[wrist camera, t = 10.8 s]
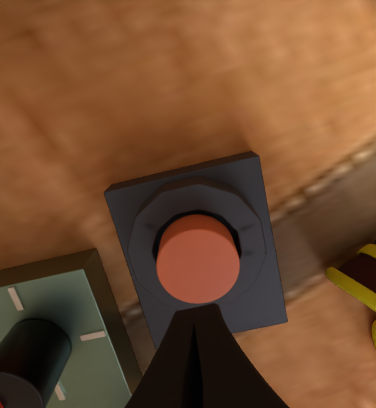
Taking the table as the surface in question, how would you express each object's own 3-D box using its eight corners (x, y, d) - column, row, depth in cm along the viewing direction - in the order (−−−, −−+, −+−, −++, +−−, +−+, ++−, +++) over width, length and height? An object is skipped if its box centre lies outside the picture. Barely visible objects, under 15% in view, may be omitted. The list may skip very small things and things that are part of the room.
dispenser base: (279, 305, 20) (298, 344, 16) (157, 330, 20) (152, 374, 17) (252, 150, 17) (268, 160, 14) (110, 184, 17) (93, 202, 14)
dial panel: (143, 377, 21) (137, 413, 19) (33, 399, 22) (13, 437, 19) (96, 248, 19) (82, 270, 16) (-29, 276, 19) (-62, 302, 17)
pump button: (239, 272, 16) (247, 295, 14) (170, 287, 16) (167, 311, 14) (225, 206, 15) (231, 220, 13) (151, 223, 15) (146, 239, 13)
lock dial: (57, 312, 17) (21, 370, 13) (80, 365, 18) (52, 432, 14) (-5, 326, 17) (-58, 387, 13) (21, 377, 18) (-22, 446, 14)
